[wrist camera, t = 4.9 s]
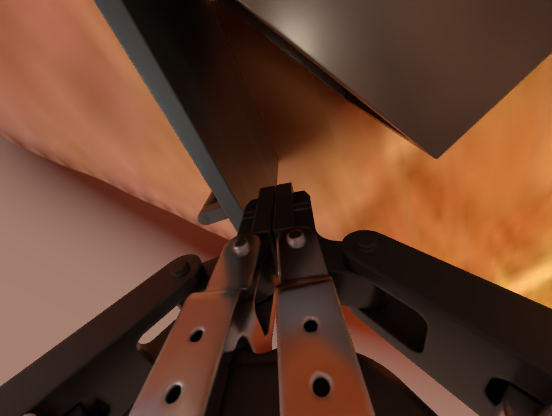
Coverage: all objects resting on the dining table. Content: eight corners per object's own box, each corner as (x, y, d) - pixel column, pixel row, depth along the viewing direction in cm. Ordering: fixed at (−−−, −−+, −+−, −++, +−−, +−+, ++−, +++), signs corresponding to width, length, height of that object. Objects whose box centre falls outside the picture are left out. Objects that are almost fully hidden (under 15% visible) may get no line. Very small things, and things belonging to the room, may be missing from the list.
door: (236, 177, 31) (191, 283, 16) (157, 31, 23) (-78, -25, 8) (278, 161, 30) (271, 261, 15) (210, -1, 22) (44, -137, 7)
